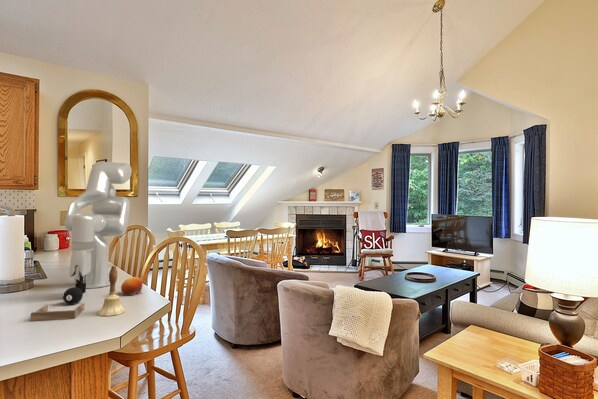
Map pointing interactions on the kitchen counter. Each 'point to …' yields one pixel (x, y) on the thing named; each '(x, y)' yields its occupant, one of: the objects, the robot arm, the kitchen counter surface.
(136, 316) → the kitchen counter surface
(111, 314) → the hand bell
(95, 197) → the robot arm
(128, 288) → the fruit
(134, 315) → the kitchen counter surface
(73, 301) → the billiard ball
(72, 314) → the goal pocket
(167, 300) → the kitchen counter surface
